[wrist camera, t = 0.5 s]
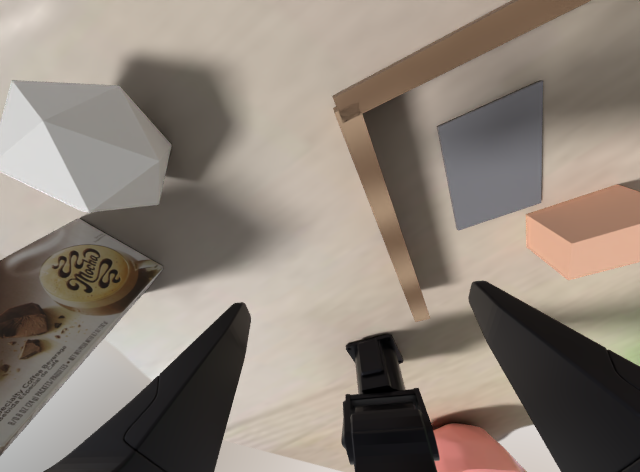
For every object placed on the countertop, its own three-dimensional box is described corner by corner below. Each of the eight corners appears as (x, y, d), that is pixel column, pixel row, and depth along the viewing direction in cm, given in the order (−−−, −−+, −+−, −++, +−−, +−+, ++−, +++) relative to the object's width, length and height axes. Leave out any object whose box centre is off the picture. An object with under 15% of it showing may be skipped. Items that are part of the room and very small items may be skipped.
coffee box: (62, 253, 26) (-233, 436, 12) (79, 215, 23) (-270, 394, 10) (143, 295, 29) (-19, 479, 16) (166, 266, 27) (-4, 456, 13)
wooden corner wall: (640, 225, 22) (696, 250, 19) (404, 293, 28) (415, 322, 24) (730, -116, 12) (887, -196, 9) (329, 97, 18) (329, 100, 14)
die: (142, 57, 17) (-103, 30, 11) (208, 147, 16) (-15, 178, 10) (146, 143, 23) (-10, 159, 17) (194, 212, 22) (50, 259, 16)
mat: (538, 201, 21) (541, 202, 21) (456, 228, 23) (458, 230, 23) (539, 80, 17) (543, 80, 16) (436, 126, 18) (438, 126, 18)
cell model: (379, 428, 47) (392, 514, 38) (478, 396, 40) (525, 494, 30) (424, 453, 54) (444, 532, 44) (516, 430, 46) (566, 520, 36)
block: (609, 221, 22) (675, 252, 18) (525, 246, 24) (568, 280, 20) (615, 183, 20) (691, 208, 16) (525, 213, 22) (571, 243, 18)
